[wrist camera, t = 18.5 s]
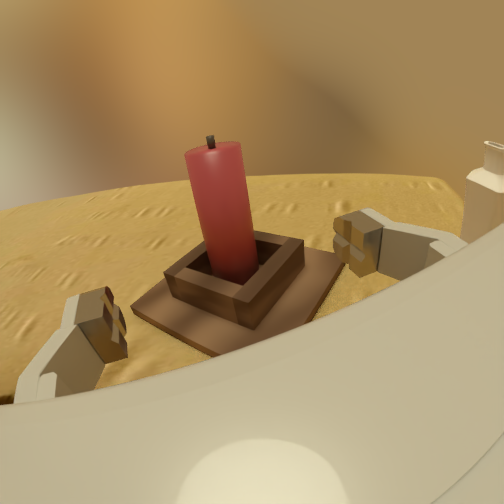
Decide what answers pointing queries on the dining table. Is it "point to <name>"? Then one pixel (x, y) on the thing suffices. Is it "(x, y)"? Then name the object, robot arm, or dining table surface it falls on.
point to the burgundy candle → (224, 209)
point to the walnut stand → (240, 296)
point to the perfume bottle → (484, 195)
